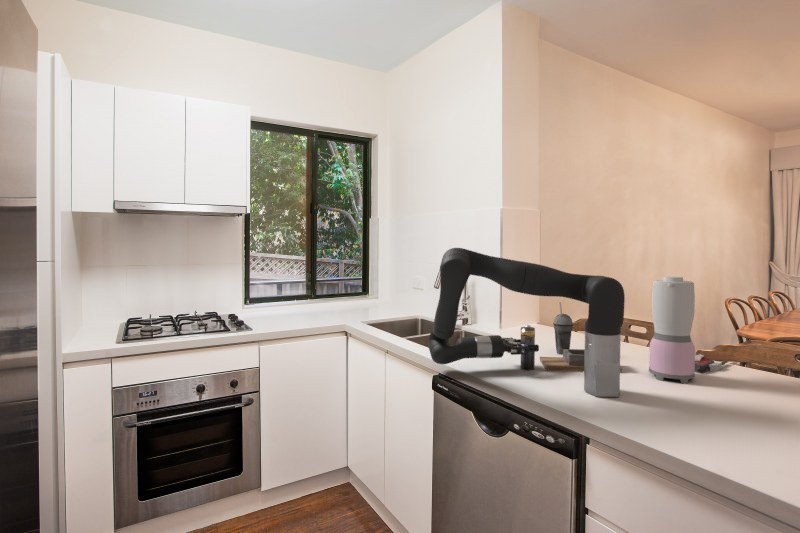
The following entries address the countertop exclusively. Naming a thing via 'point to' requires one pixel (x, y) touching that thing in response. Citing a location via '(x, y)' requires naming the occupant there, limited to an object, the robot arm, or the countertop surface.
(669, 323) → the blender
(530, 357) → the cell
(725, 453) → the countertop surface
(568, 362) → the wood and grey block
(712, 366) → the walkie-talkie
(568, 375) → the countertop surface
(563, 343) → the beverage cup
